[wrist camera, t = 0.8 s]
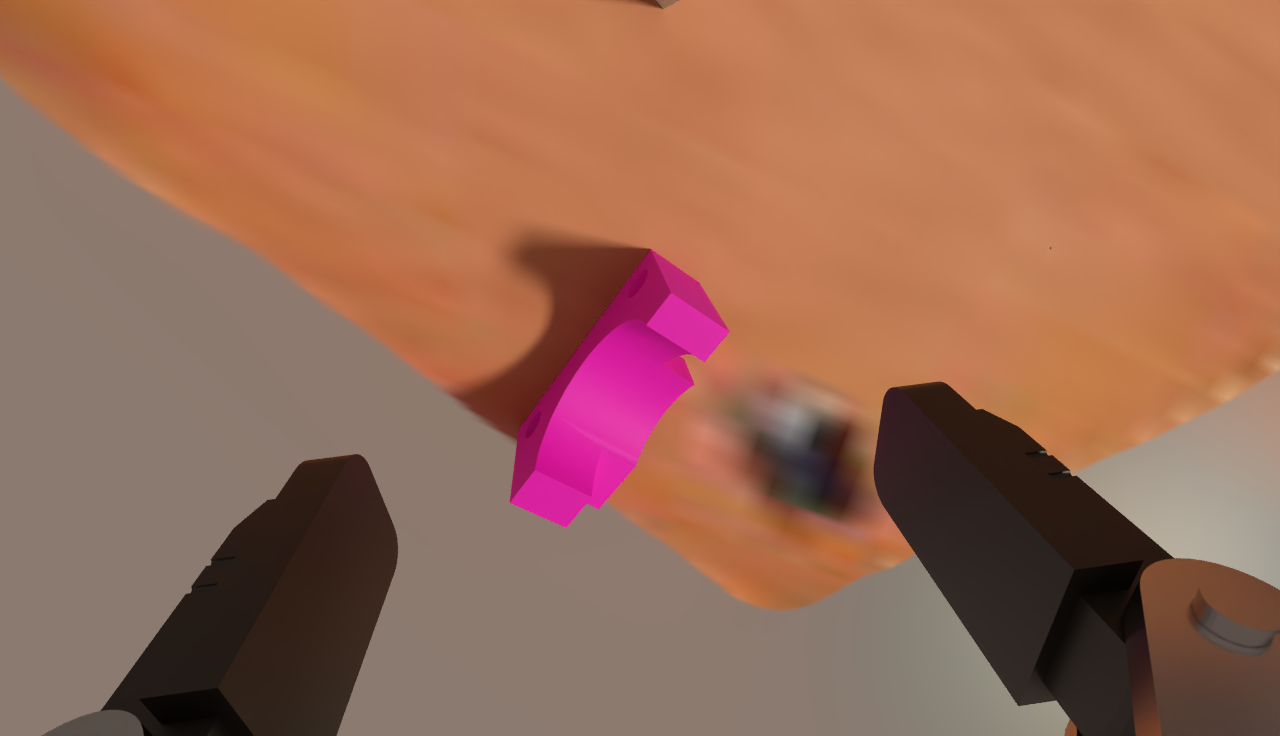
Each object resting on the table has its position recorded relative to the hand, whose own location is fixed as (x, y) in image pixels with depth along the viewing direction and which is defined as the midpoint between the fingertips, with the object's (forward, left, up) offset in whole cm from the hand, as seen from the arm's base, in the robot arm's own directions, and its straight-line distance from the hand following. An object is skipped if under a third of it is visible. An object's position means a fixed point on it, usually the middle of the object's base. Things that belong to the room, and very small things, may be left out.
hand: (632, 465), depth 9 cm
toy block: (+7, +10, -26) cm, 28 cm away
